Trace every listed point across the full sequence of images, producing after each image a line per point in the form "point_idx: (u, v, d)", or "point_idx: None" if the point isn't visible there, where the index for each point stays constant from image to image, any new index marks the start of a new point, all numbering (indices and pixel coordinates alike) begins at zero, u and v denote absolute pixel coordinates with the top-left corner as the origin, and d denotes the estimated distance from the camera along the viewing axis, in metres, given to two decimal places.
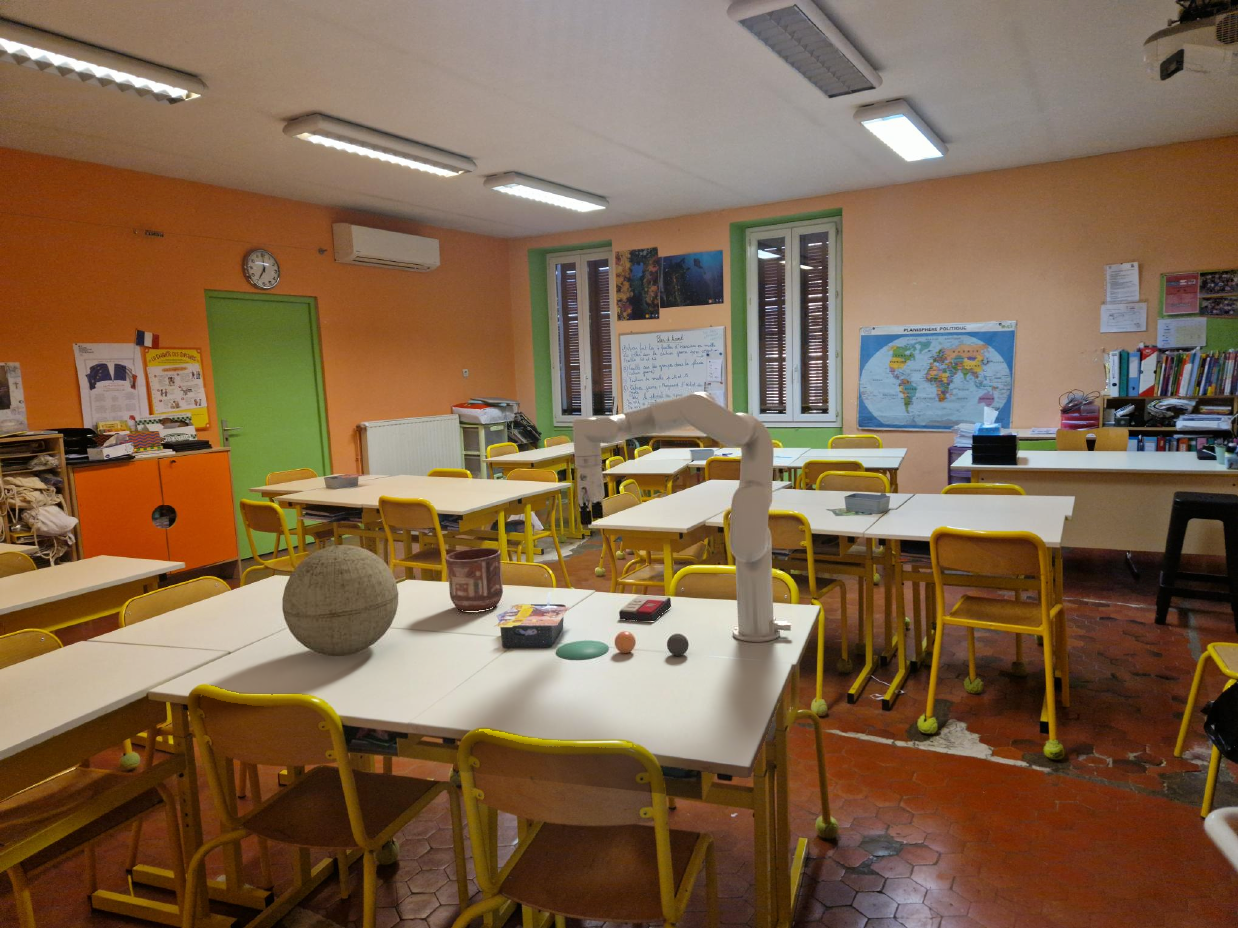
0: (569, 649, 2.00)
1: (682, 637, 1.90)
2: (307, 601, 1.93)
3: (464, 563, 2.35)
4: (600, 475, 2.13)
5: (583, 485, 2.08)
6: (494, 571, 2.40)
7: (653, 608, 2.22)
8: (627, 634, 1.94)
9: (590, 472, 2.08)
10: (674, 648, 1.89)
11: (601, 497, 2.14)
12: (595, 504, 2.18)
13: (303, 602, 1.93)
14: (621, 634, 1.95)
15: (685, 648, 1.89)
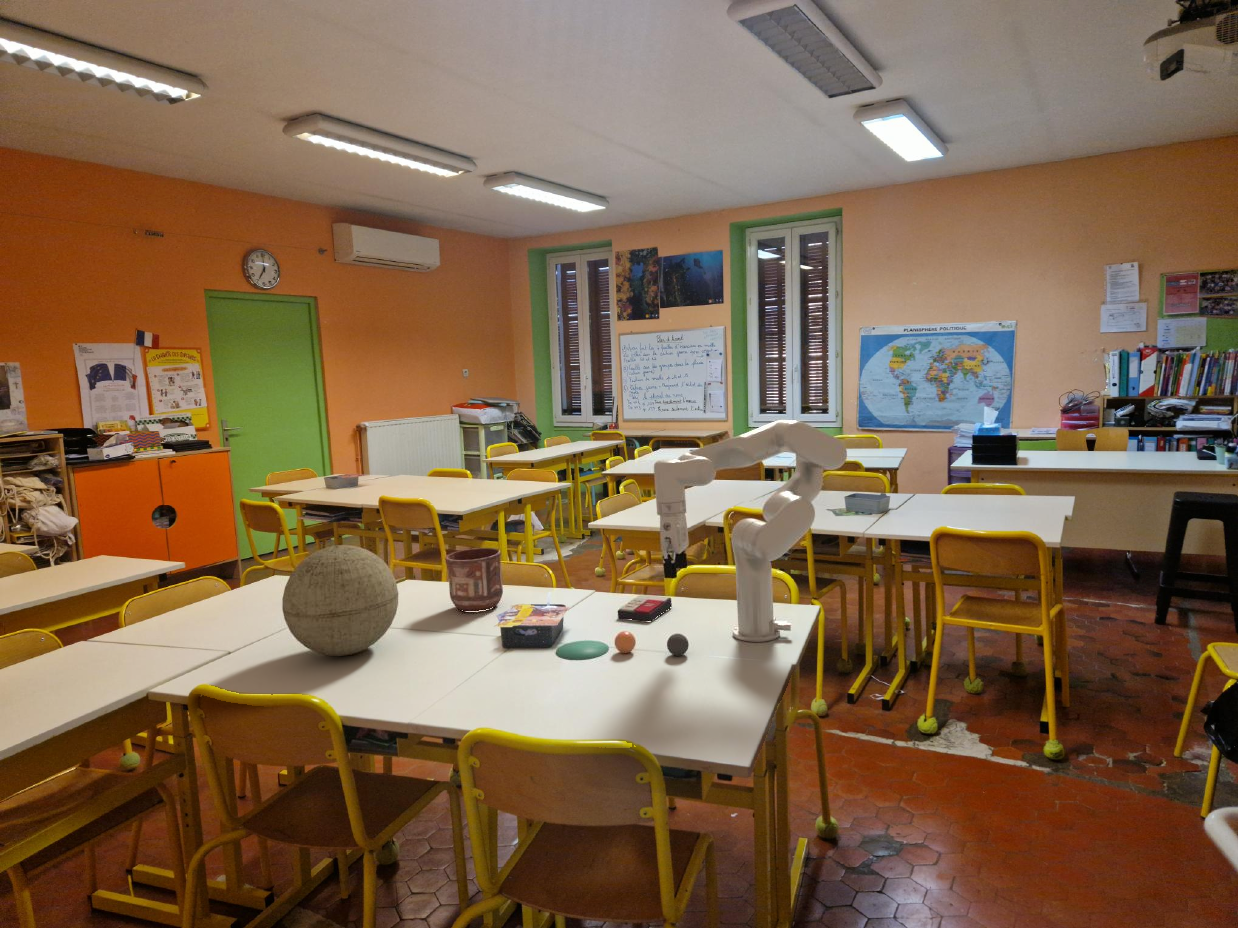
0: (569, 649, 2.00)
1: (682, 637, 1.90)
2: (307, 601, 1.93)
3: (464, 563, 2.35)
4: (684, 522, 1.94)
5: (667, 535, 1.89)
6: (494, 571, 2.40)
7: (651, 608, 2.22)
8: (627, 634, 1.94)
9: (674, 520, 1.89)
10: (674, 648, 1.89)
11: (686, 546, 1.94)
12: None
13: (303, 602, 1.93)
14: (621, 634, 1.95)
15: (685, 648, 1.89)
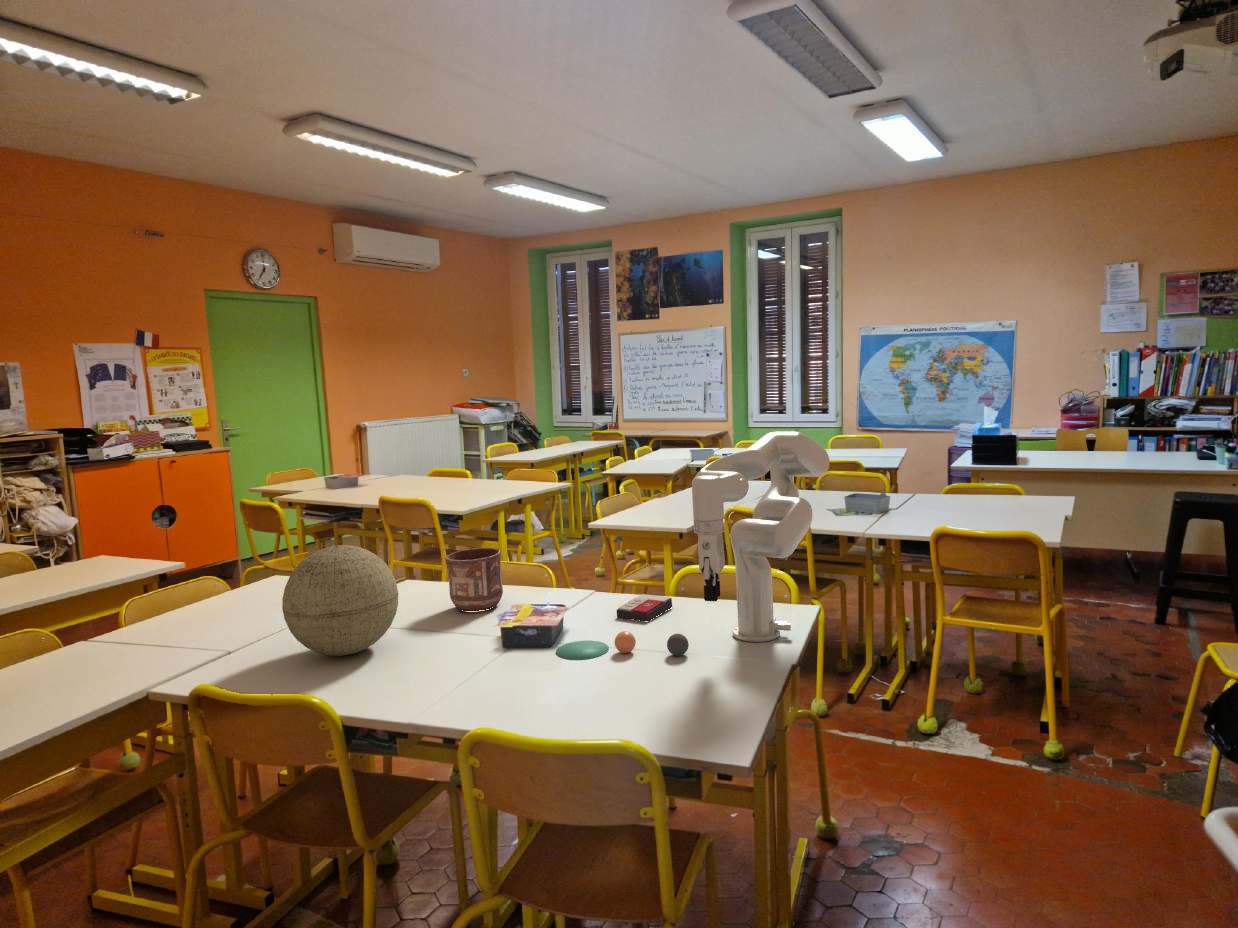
0: (569, 649, 2.00)
1: (682, 637, 1.90)
2: (307, 601, 1.93)
3: (464, 563, 2.35)
4: (722, 541, 1.87)
5: (706, 554, 1.81)
6: (494, 571, 2.40)
7: (649, 608, 2.23)
8: (627, 634, 1.94)
9: (714, 539, 1.81)
10: (674, 648, 1.89)
11: (723, 566, 1.87)
12: None
13: (303, 602, 1.93)
14: (621, 634, 1.95)
15: (685, 648, 1.89)
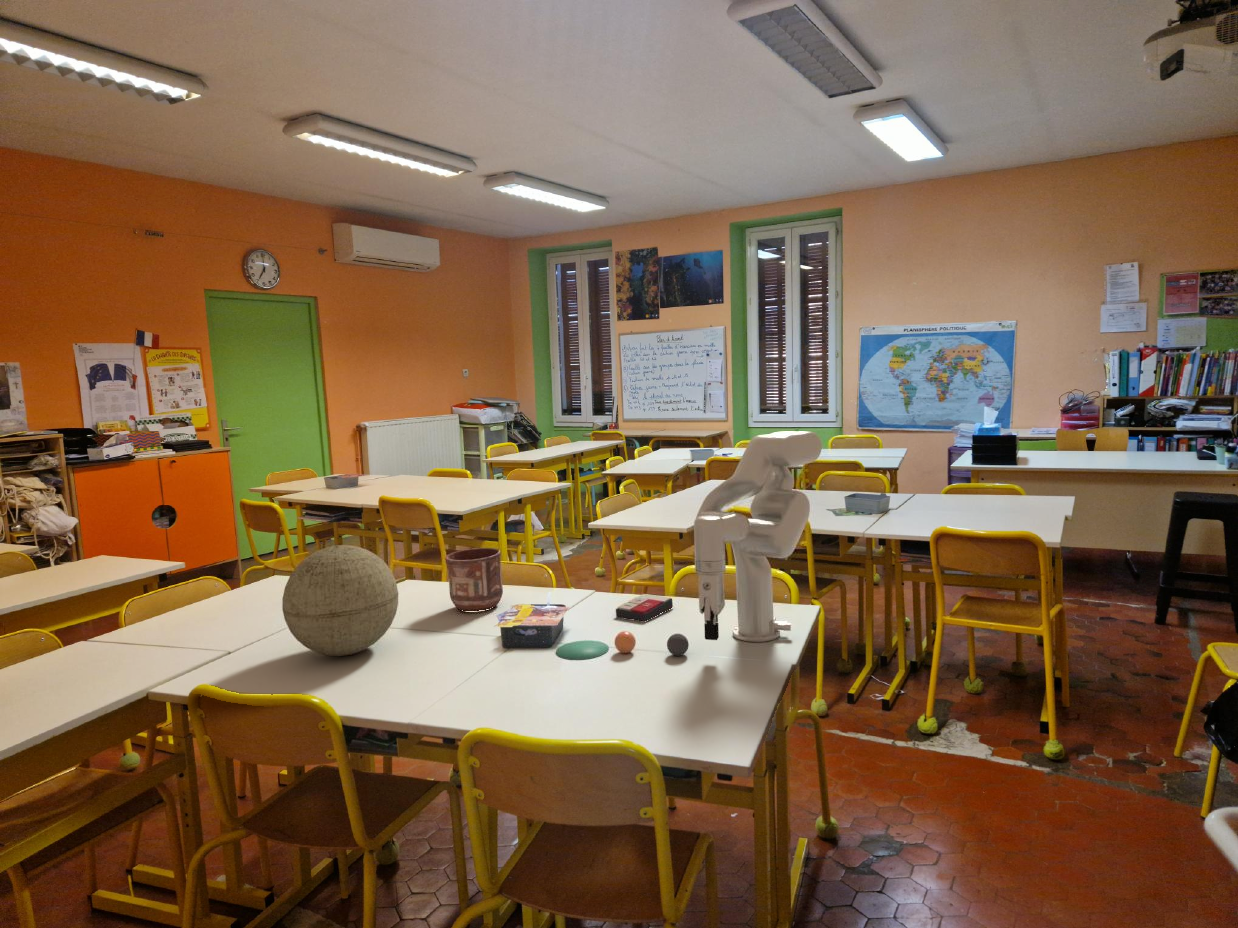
0: (569, 649, 2.00)
1: (682, 637, 1.90)
2: (307, 601, 1.93)
3: (464, 563, 2.35)
4: (722, 581, 1.87)
5: (706, 595, 1.82)
6: (494, 571, 2.40)
7: (647, 608, 2.23)
8: (627, 634, 1.94)
9: (715, 579, 1.82)
10: (674, 648, 1.89)
11: (723, 606, 1.87)
12: None
13: (303, 602, 1.93)
14: (621, 634, 1.95)
15: (685, 648, 1.89)
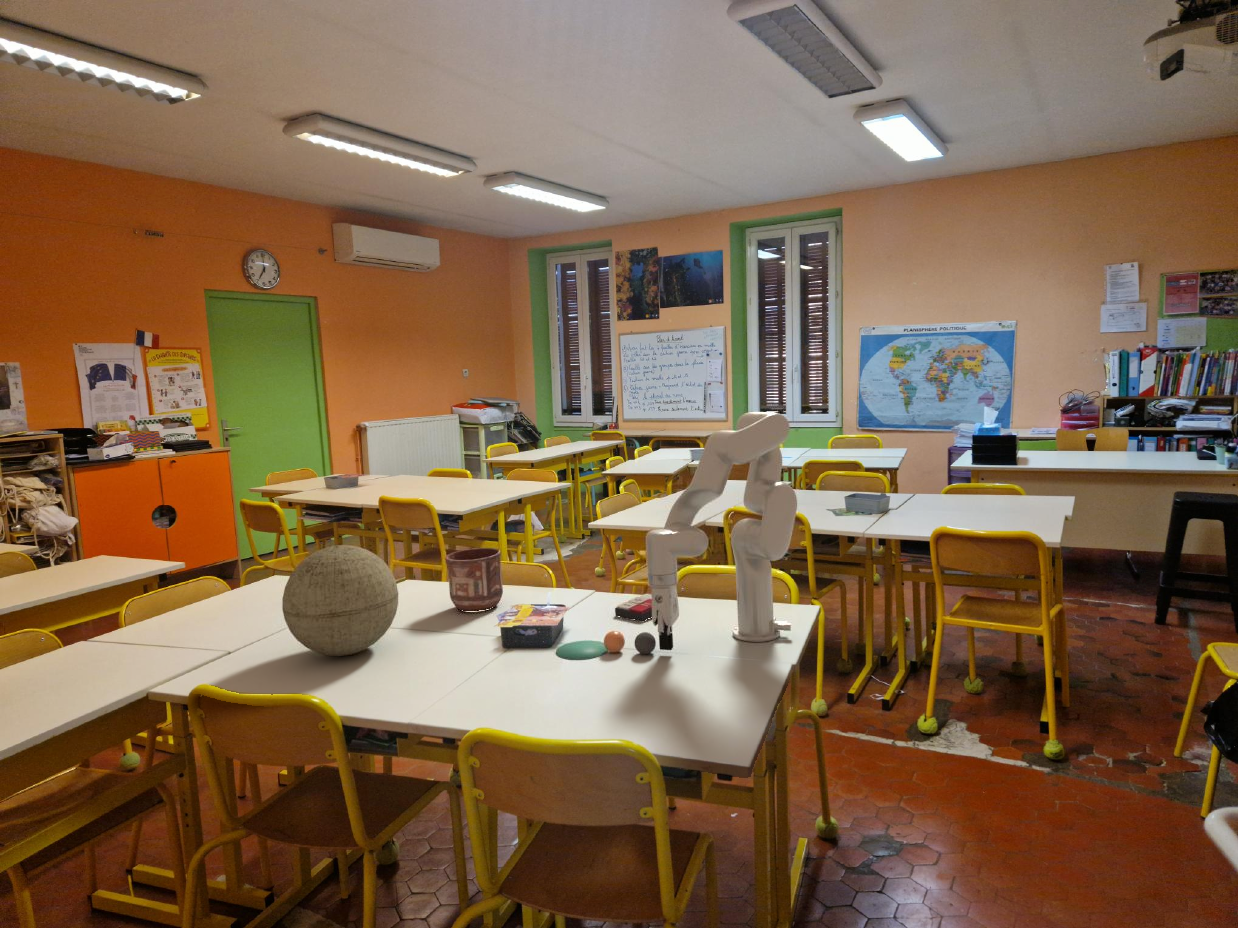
0: (569, 649, 2.00)
1: None
2: (307, 601, 1.93)
3: (464, 563, 2.35)
4: (675, 593, 1.92)
5: (658, 607, 1.87)
6: (494, 571, 2.40)
7: (646, 608, 2.23)
8: (607, 634, 1.96)
9: (666, 593, 1.86)
10: (643, 647, 1.91)
11: (676, 617, 1.92)
12: None
13: (303, 602, 1.93)
14: (604, 639, 1.96)
15: (635, 641, 1.93)
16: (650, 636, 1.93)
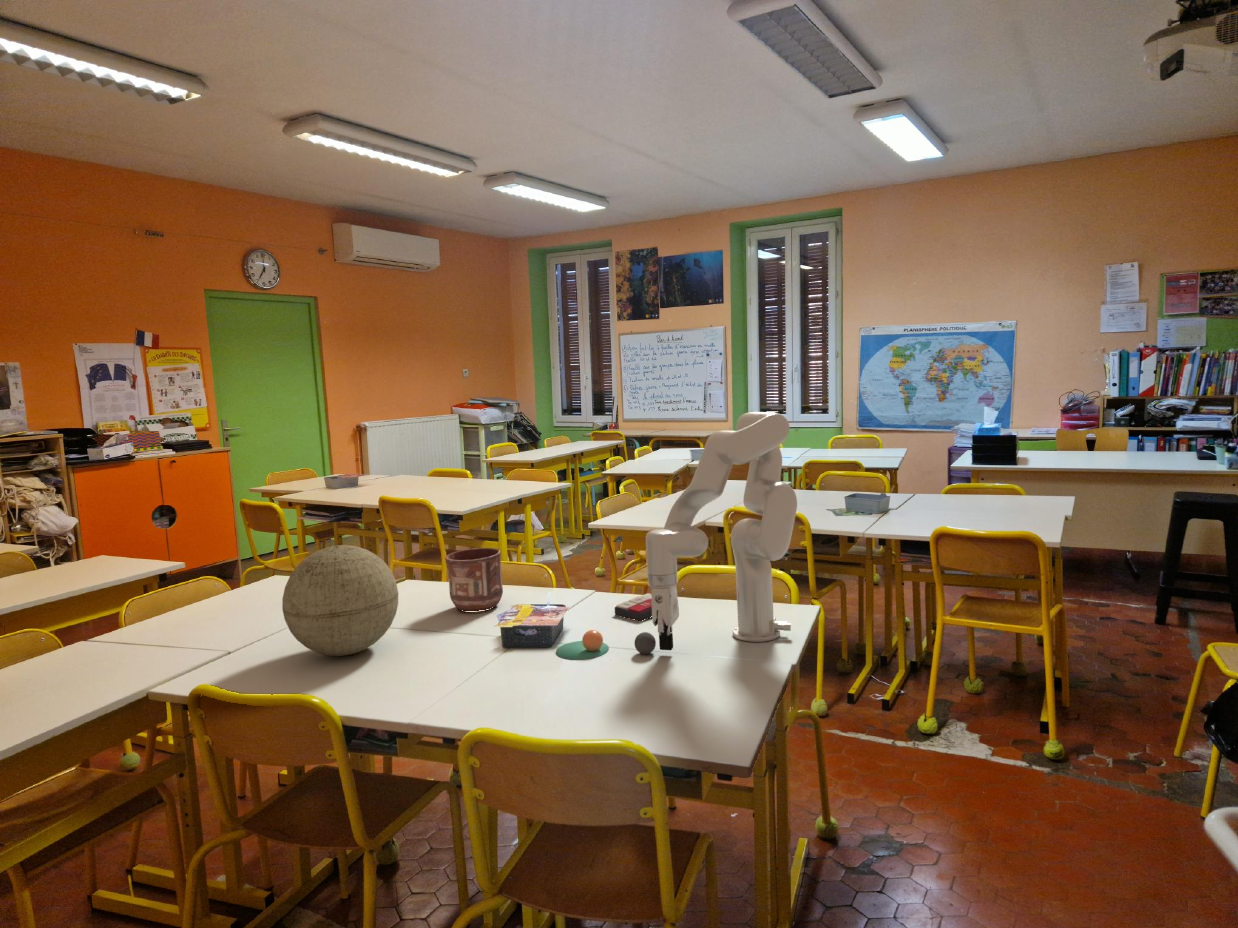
0: (569, 649, 2.00)
1: None
2: (307, 601, 1.93)
3: (464, 563, 2.35)
4: (675, 593, 1.92)
5: (658, 608, 1.87)
6: (494, 571, 2.40)
7: (644, 608, 2.23)
8: (588, 650, 1.98)
9: (666, 593, 1.86)
10: (643, 647, 1.91)
11: (676, 617, 1.92)
12: None
13: (303, 602, 1.93)
14: (594, 650, 1.97)
15: (635, 641, 1.93)
16: (650, 636, 1.93)
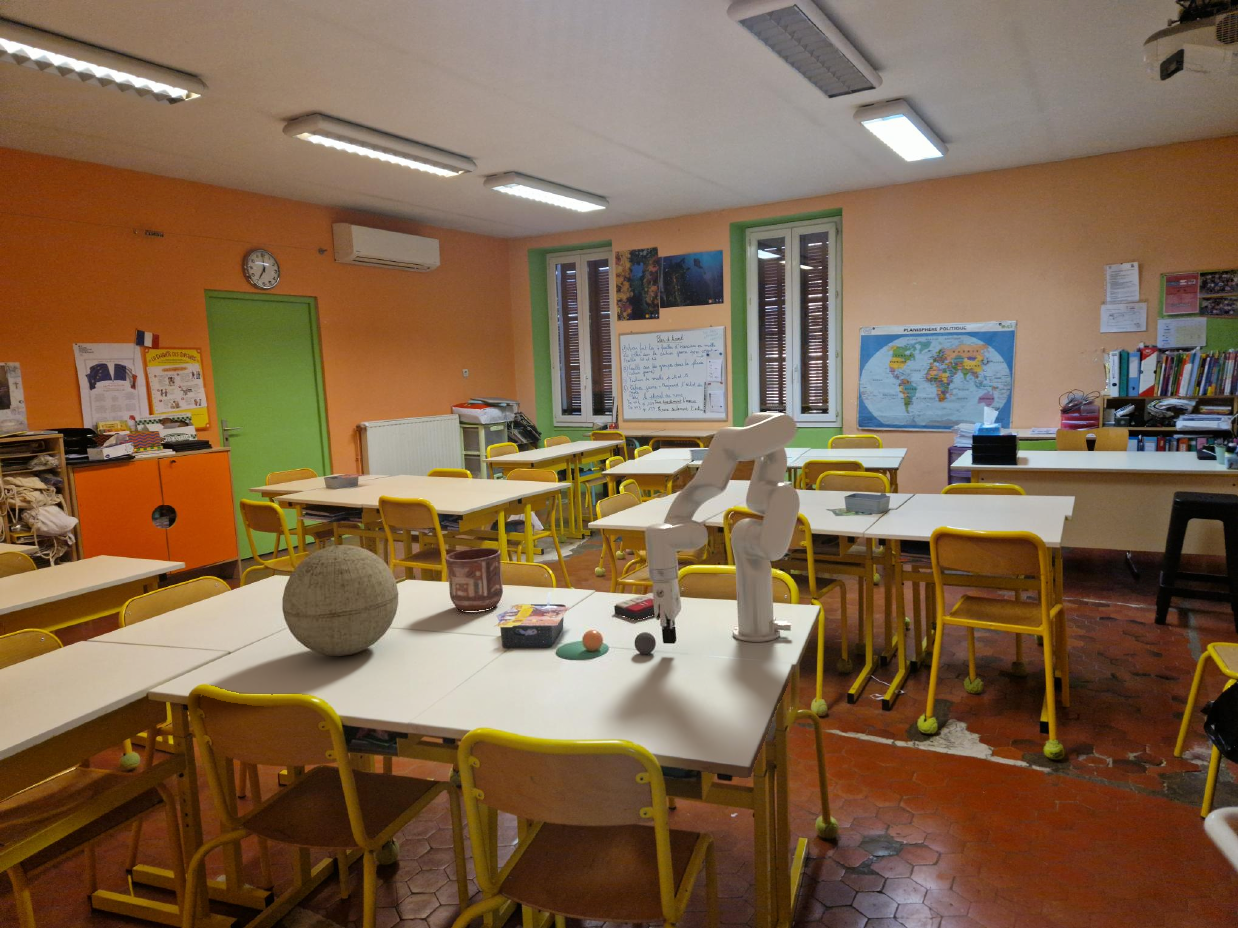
0: (569, 649, 2.00)
1: None
2: (307, 601, 1.93)
3: (464, 563, 2.35)
4: (677, 586, 1.92)
5: (660, 602, 1.87)
6: (494, 571, 2.40)
7: (641, 607, 2.24)
8: (588, 650, 1.98)
9: (668, 587, 1.86)
10: (643, 647, 1.91)
11: (679, 611, 1.92)
12: None
13: (303, 602, 1.93)
14: (594, 650, 1.97)
15: (635, 641, 1.93)
16: (650, 636, 1.93)
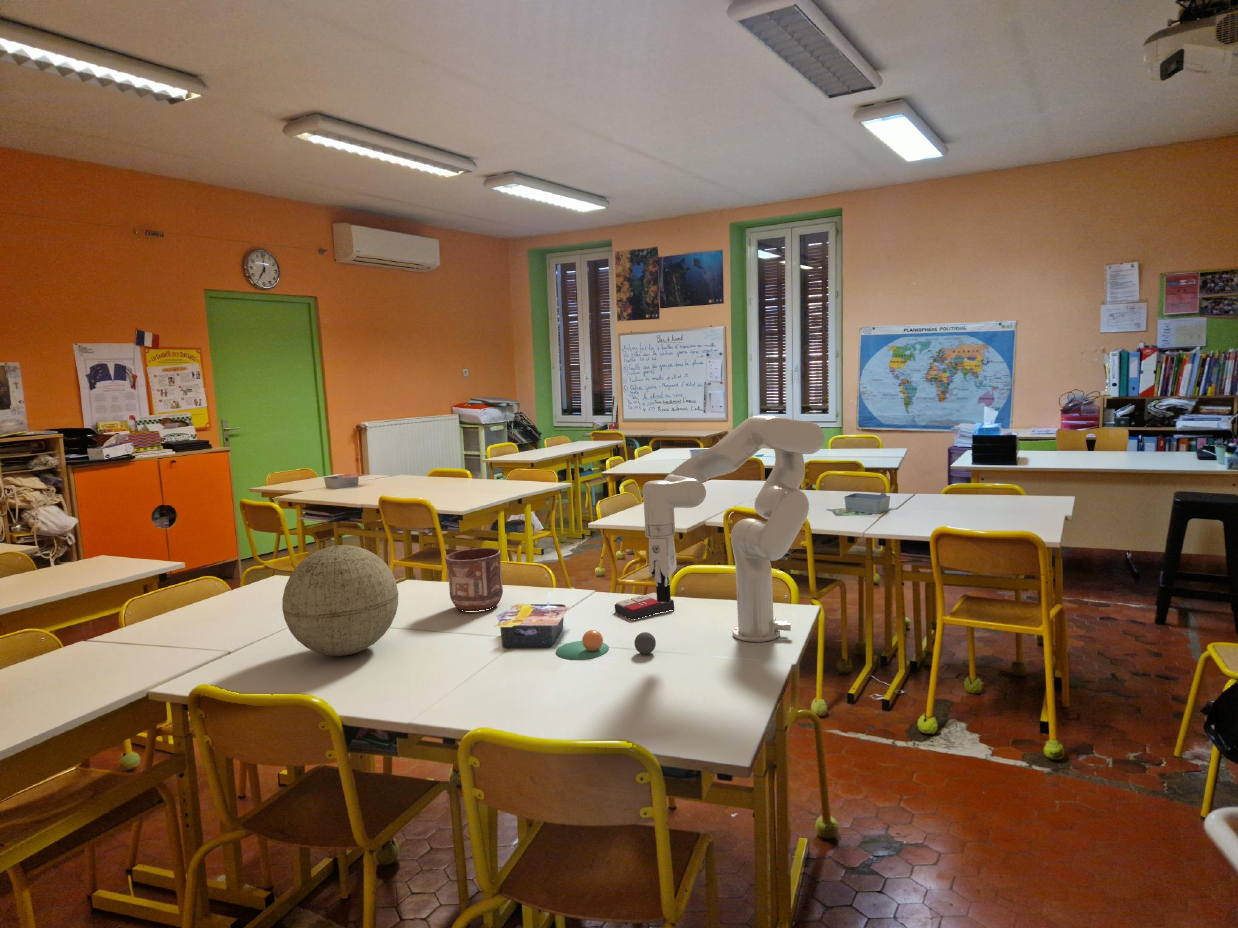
0: (569, 649, 2.00)
1: None
2: (307, 601, 1.93)
3: (464, 563, 2.35)
4: (673, 544, 1.91)
5: (656, 558, 1.85)
6: (494, 571, 2.40)
7: (639, 607, 2.24)
8: (588, 650, 1.98)
9: (664, 543, 1.85)
10: (643, 647, 1.91)
11: (674, 569, 1.91)
12: None
13: (303, 602, 1.93)
14: (594, 650, 1.97)
15: (635, 641, 1.93)
16: (650, 636, 1.93)
